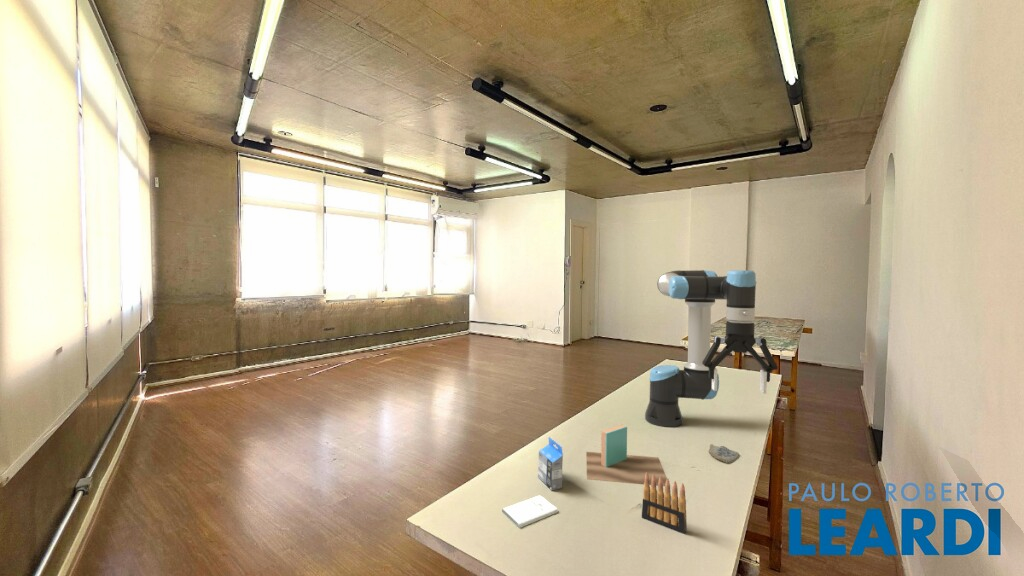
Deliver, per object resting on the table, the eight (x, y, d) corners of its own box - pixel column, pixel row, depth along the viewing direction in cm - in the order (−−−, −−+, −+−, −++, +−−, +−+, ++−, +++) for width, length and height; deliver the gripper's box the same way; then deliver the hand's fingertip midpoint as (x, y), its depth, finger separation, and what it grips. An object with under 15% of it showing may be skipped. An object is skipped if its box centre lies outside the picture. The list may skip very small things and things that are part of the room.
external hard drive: (501, 513, 107) (539, 499, 113) (519, 530, 100) (558, 514, 106) (501, 507, 107) (539, 494, 113) (519, 524, 100) (558, 508, 106)
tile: (601, 464, 131) (601, 431, 130) (621, 456, 137) (621, 424, 136) (606, 467, 129) (606, 433, 129) (626, 459, 135) (627, 426, 134)
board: (586, 454, 140) (586, 451, 140) (658, 460, 136) (658, 457, 136) (586, 482, 122) (586, 479, 122) (670, 490, 117) (670, 486, 117)
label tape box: (537, 477, 125) (537, 438, 124) (548, 474, 126) (549, 436, 126) (551, 491, 117) (551, 449, 116) (563, 488, 118) (563, 447, 118)
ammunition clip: (641, 517, 104) (642, 472, 104) (643, 514, 106) (644, 469, 105) (684, 534, 98) (685, 486, 97) (686, 530, 99) (687, 482, 99)
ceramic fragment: (712, 442, 147) (741, 448, 140) (713, 451, 147) (742, 457, 139) (697, 450, 141) (727, 456, 133) (698, 459, 141) (728, 466, 133)
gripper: (699, 321, 120) (697, 392, 121) (792, 324, 115) (790, 397, 116) (692, 318, 127) (691, 385, 128) (780, 320, 122) (778, 389, 123)
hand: (738, 391), depth 122 cm, fingers open, 13 cm apart
